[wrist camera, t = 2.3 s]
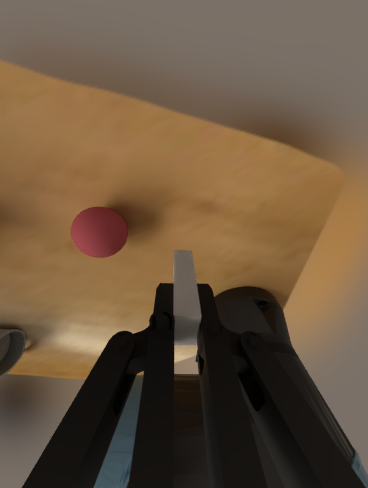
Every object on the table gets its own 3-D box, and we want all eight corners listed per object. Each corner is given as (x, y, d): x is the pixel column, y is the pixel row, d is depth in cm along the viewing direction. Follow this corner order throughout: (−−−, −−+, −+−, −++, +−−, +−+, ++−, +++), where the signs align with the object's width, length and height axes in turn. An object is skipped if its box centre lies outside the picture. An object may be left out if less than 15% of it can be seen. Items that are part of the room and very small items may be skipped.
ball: (141, 231, 24) (131, 255, 18) (106, 248, 25) (87, 275, 19) (113, 192, 21) (93, 207, 16) (76, 213, 22) (44, 233, 17)
